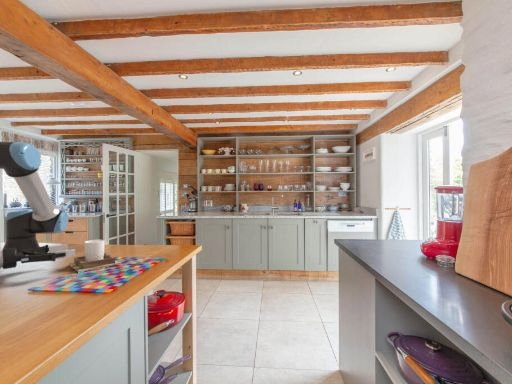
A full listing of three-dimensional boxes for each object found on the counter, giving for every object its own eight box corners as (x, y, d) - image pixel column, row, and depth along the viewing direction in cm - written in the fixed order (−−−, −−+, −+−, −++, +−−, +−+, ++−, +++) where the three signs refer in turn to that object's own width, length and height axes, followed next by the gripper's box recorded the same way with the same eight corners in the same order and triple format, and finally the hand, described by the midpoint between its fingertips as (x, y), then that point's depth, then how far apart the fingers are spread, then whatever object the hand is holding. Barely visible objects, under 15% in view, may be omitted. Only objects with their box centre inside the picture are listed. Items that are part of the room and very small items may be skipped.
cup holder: (69, 265, 117) (69, 257, 117) (108, 258, 129) (108, 251, 129) (78, 273, 106) (78, 264, 106) (119, 265, 118) (119, 257, 118)
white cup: (80, 264, 116) (80, 241, 116) (98, 259, 123) (98, 239, 123) (90, 266, 112) (90, 243, 112) (108, 262, 119) (108, 240, 119)
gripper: (-1, 262, 104) (64, 253, 119) (3, 277, 87) (78, 264, 102) (0, 243, 104) (64, 237, 119) (3, 255, 87) (78, 245, 102)
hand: (71, 249), depth 111 cm, fingers open, 13 cm apart
